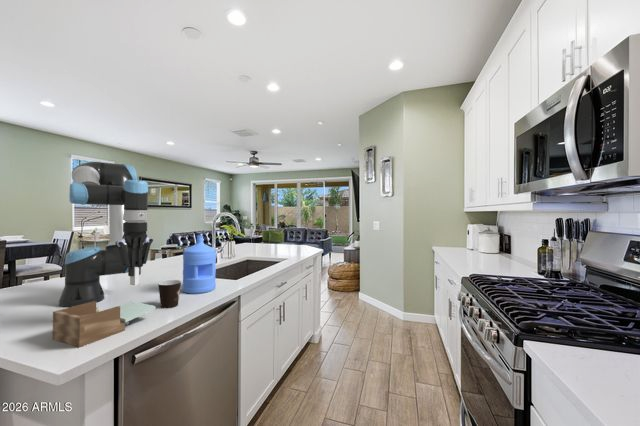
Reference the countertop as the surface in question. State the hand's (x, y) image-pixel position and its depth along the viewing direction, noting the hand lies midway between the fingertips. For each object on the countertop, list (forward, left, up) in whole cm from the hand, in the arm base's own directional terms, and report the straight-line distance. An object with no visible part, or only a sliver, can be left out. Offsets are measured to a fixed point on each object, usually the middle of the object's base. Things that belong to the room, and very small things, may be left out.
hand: (134, 284), depth 103 cm
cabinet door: (0, -8, -10) cm, 13 cm away
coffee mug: (-1, +17, -13) cm, 21 cm away
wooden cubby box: (0, -15, -13) cm, 19 cm away
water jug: (-8, +39, -13) cm, 42 cm away
